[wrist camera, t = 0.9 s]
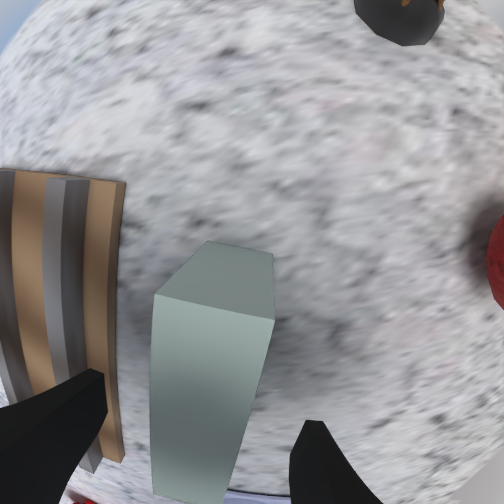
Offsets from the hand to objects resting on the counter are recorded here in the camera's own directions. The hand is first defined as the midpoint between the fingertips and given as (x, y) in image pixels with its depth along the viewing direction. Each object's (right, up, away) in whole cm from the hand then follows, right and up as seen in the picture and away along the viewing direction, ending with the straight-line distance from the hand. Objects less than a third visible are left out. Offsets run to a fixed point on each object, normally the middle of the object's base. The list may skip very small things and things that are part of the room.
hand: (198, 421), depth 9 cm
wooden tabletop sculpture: (+9, +18, +2) cm, 21 cm away
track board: (-11, +1, +7) cm, 13 cm away
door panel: (0, +1, +6) cm, 6 cm away
